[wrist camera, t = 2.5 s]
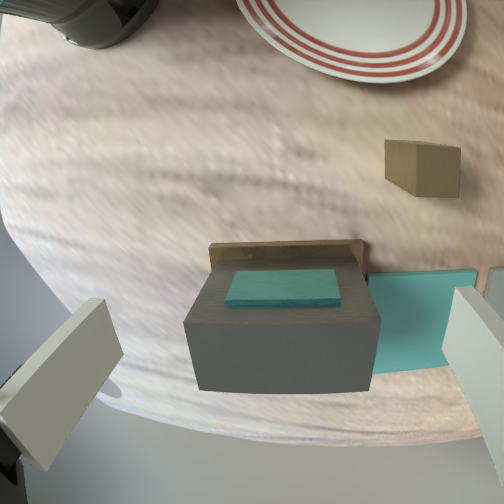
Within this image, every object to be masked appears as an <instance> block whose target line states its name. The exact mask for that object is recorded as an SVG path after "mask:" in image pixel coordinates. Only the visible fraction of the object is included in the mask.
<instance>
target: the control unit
mask: <svg viewBox="0 0 504 504" xmlns="http://www.w3.org/2000/svg"><path fill="white" fill-rule="evenodd" d="M363 250H364V243H363V241H362V240H361V239H356V240H314V241H277V242H243V243H212V244H211V245H210V247H209V254H210V262H211V270H212V272H211V273H210V275H209V277H208V279H207V280H206V282H205V284H204V286H203V288H202V289H201V291H200V293H199V295H198V297H197V298H196V300H195V302H194V304H193V306H192V307H191V309H190V311H189V313H188V315H187V317H186V318H185V320H184V322H183V323H184V328H185V333H186V337H187V342H188V346H189V350H190V355H191V359H192V363H193V367H194V371H195V375H196V379H197V383H198V387H199V390H203V391H215V392H231V393H253V394H326V393H347V392H362V391H369V387H370V383H371V378H372V373H373V368H374V363H375V357H376V352H377V346H378V340H379V334H380V328H381V318H380V315H379V313H378V310H377V308H376V305H375V303H374V300H373V298H372V295H371V293H370V290H369V288H368V286H367V283H366V281H365V278H364V276H363V274H362V267H363Z"/></svg>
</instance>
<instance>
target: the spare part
mask: <svg viewBox="0 0 504 504" xmlns="http://www.w3.org/2000/svg"><path fill="white" fill-rule="evenodd" d="M460 157H461V148H459V147H454V146H448V145H442V144H435V143H429V142H422V141H407V140H385V179H387V180H388V181H390V182H392V183H394V184H395V185H397V186H399V187H400V188H402V189H404V190H405V191H407V192H409V193H410V194H412V195H414V196H415V197H448V198H459V186H460Z"/></svg>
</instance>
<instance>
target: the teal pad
mask: <svg viewBox="0 0 504 504" xmlns="http://www.w3.org/2000/svg"><path fill="white" fill-rule="evenodd" d="M476 275H477V271H476V270H475V269H461V270H442V271H421V272H398V273H372V274H367V286H368V288H369V290H370V293H371V295H372V298H373V300H374V303H375V305H376V308H377V310H378V313H379V315H380V318H381V328H380V334H379V340H378V346H377V352H376V357H375V363H374V368H373V373H372V374H376V373H387V372H398V371H407V370H416V369H424V368H431V367H439V366H445V365H449V363H448V361H447V359H446V357H445V355H444V353H443V351H442V349H441V348H442V344H443V340H444V337H445V333H446V329H447V324H448V320H449V316H450V311H451V306H452V301H453V296H454V291H455V287H463V286H473V287H474V285H475V280H476Z"/></svg>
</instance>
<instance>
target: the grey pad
mask: <svg viewBox="0 0 504 504" xmlns="http://www.w3.org/2000/svg"><path fill="white" fill-rule="evenodd" d="M483 298H484V299H485V300H486V301H487V302H488V304H489V305H490V306H491V307H492V308H493V309H494V310H495V312H496V313H497V314H498V315H499V316H500V317H501V319H502V320H503V321H504V267H495V268H490V270H489V275H488V279H487V284H486V288H485V292H484V296H483Z"/></svg>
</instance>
